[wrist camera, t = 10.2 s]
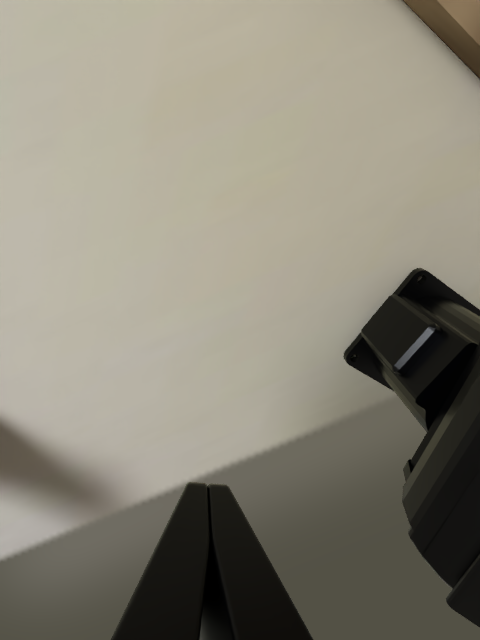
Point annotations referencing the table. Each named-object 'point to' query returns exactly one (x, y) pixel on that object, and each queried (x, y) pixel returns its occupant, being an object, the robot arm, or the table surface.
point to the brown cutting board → (454, 26)
